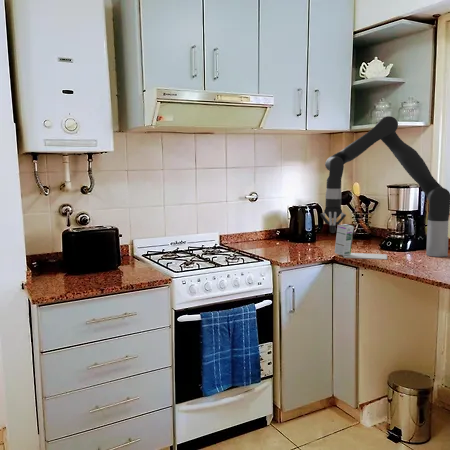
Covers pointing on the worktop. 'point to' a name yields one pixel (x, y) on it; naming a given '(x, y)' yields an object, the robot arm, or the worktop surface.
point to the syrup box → (344, 239)
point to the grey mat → (366, 256)
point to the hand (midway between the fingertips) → (332, 232)
